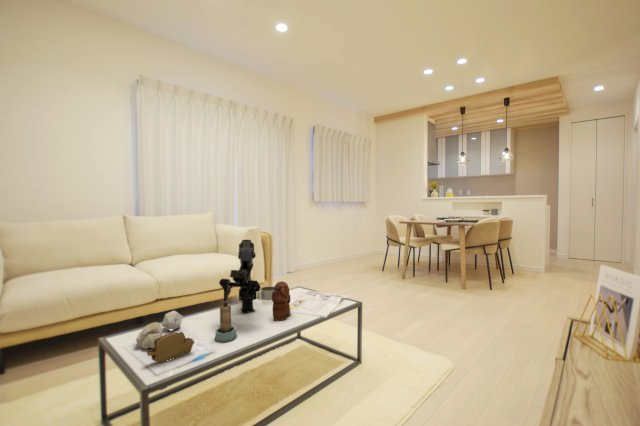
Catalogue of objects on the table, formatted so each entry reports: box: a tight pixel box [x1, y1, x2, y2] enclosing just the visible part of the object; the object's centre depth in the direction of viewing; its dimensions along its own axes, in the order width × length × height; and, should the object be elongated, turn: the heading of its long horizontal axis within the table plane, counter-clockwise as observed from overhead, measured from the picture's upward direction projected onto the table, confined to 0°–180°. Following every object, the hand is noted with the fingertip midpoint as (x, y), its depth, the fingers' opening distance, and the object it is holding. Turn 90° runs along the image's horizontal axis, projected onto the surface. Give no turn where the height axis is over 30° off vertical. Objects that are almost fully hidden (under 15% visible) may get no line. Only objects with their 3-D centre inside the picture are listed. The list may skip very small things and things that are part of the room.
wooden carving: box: [146, 331, 195, 363], centre depth 120 cm, size 16×5×10 cm, turn 136°
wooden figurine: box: [271, 281, 291, 322], centre depth 161 cm, size 12×6×18 cm, turn 161°
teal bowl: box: [214, 325, 238, 344], centre depth 137 cm, size 9×9×4 cm
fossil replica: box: [136, 321, 163, 350], centre depth 131 cm, size 12×8×10 cm
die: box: [160, 310, 184, 330], centre depth 147 cm, size 8×9×10 cm
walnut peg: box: [219, 302, 232, 333], centre depth 137 cm, size 4×4×15 cm
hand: (233, 301), depth 144 cm, fingers open, 9 cm apart
